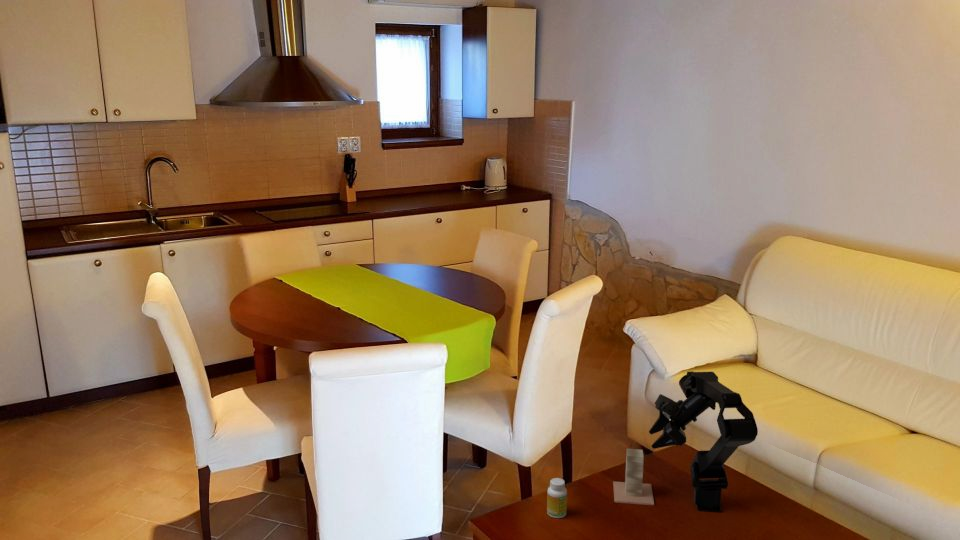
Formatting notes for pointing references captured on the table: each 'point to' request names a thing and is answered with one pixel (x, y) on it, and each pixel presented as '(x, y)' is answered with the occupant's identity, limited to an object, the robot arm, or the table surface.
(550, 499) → the supplement bottle
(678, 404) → the robot arm
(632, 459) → the birch pillar
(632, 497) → the plate
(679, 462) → the table surface
